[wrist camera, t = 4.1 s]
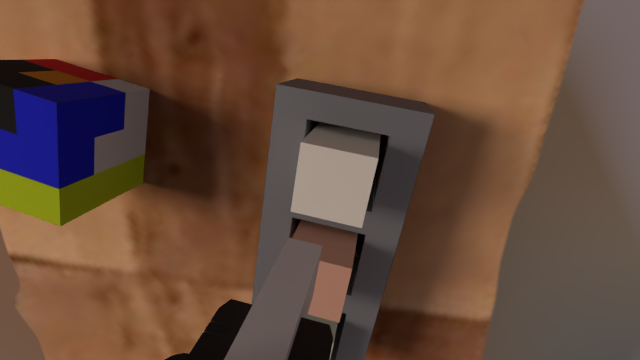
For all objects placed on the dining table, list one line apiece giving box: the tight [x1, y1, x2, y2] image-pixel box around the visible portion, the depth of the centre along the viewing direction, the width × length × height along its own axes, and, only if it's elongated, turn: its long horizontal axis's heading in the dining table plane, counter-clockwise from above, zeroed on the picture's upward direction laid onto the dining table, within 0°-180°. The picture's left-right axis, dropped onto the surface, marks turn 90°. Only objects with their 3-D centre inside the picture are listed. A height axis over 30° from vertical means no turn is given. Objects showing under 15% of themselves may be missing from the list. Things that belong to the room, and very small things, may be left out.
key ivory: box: [291, 122, 381, 228], centre depth 25 cm, size 5×5×8 cm
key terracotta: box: [292, 220, 358, 323], centre depth 28 cm, size 5×5×8 cm
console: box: [252, 79, 435, 360], centre depth 31 cm, size 26×11×6 cm, turn 171°
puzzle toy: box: [0, 59, 150, 226], centre depth 30 cm, size 10×10×10 cm
